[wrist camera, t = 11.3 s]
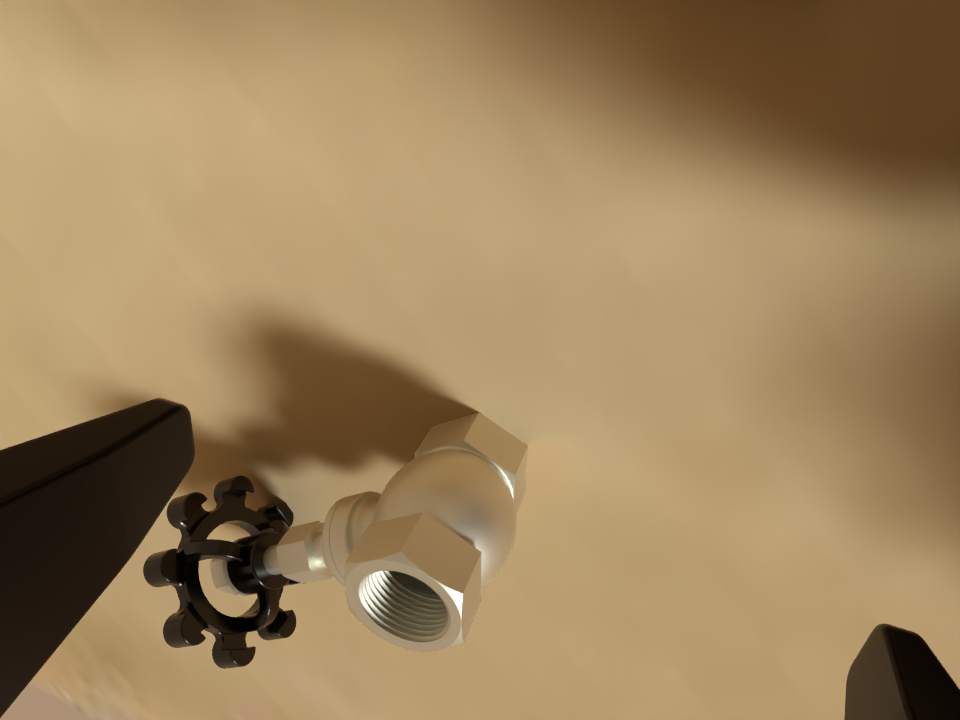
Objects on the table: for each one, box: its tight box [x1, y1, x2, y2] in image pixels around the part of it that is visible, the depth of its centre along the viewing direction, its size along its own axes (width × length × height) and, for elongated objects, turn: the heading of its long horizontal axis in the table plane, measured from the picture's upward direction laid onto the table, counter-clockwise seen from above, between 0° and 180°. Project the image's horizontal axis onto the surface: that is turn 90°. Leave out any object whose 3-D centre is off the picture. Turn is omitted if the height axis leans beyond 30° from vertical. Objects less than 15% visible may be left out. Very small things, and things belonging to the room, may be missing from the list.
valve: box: [143, 413, 528, 669], centre depth 25 cm, size 7×7×12 cm
